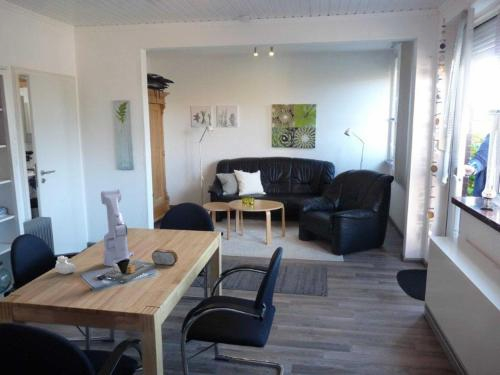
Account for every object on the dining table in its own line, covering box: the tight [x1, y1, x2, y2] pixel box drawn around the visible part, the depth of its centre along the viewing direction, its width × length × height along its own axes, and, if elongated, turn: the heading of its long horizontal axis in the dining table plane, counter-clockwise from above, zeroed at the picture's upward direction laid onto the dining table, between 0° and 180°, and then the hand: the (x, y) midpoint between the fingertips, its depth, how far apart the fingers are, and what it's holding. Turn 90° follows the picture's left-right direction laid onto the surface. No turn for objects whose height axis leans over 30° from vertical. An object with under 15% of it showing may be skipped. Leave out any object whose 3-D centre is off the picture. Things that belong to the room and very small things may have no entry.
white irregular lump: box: [55, 255, 77, 275], centre depth 218 cm, size 12×8×11 cm
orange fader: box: [126, 264, 135, 273], centre depth 212 cm, size 3×3×4 cm
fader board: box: [103, 259, 157, 284], centre depth 218 cm, size 15×23×2 cm, turn 155°
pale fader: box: [114, 264, 121, 272], centre depth 215 cm, size 3×3×4 cm
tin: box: [151, 248, 179, 266], centre depth 229 cm, size 15×3×8 cm, turn 74°
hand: (123, 273), depth 208 cm, fingers closed
